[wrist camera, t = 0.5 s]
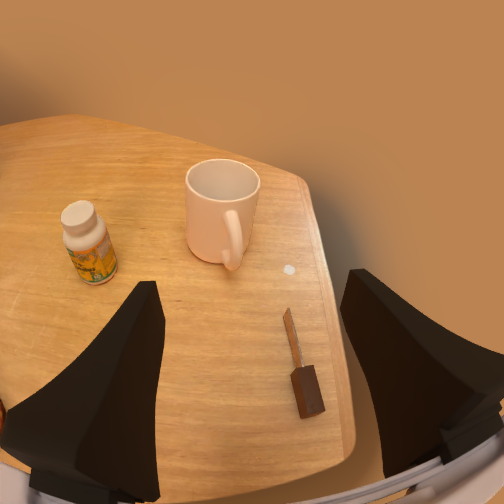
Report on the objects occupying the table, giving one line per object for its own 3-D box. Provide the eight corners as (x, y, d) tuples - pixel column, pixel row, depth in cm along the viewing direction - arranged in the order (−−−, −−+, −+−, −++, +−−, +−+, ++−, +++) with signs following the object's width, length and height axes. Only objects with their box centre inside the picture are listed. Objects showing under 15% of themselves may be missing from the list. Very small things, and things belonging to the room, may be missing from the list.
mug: (265, 284, 36) (283, 223, 28) (197, 295, 33) (196, 233, 26) (239, 217, 43) (248, 156, 35) (182, 223, 40) (181, 161, 33)
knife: (317, 415, 26) (325, 411, 24) (300, 419, 25) (308, 415, 24) (291, 315, 33) (297, 305, 32) (276, 317, 33) (281, 306, 31)
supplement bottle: (124, 259, 35) (110, 200, 28) (105, 292, 31) (82, 236, 24) (92, 248, 35) (73, 192, 28) (72, 278, 32) (45, 224, 24)
